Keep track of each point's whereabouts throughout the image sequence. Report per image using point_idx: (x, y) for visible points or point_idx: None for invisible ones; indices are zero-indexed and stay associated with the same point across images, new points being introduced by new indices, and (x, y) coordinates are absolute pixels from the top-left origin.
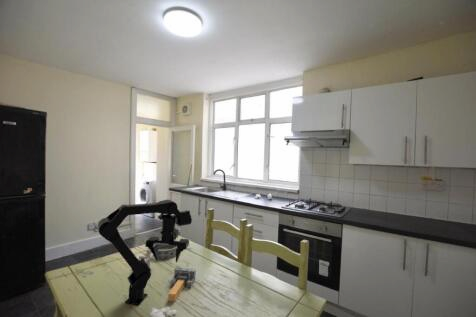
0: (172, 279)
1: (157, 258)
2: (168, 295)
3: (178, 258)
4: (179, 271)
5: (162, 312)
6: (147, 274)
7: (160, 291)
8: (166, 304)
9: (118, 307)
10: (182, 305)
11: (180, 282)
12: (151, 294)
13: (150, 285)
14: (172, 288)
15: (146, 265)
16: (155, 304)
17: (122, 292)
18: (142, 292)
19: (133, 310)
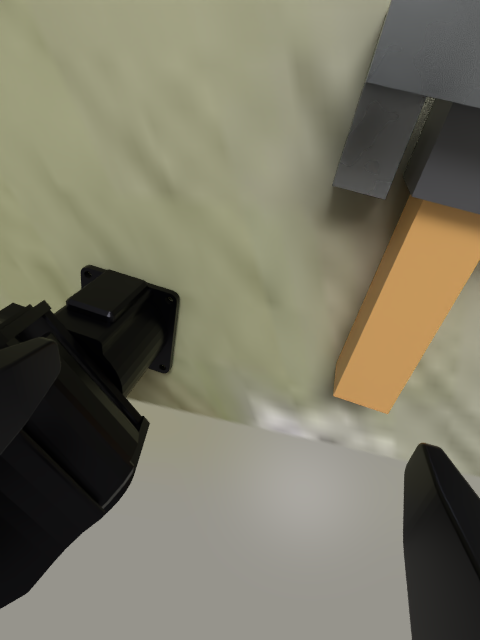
0: (347, 178)
1: (31, 389)
2: (334, 386)
3: (477, 518)
4: (449, 99)
5: (315, 440)
6: (105, 510)
7: (258, 259)
8: (329, 393)
9: None
10: (438, 421)
11: (444, 267)
12: (203, 285)
13: (150, 166)
14: (360, 344)
15: (26, 585)
16: (260, 379)
17: (11, 239)
18: (146, 367)
19: (161, 395)
